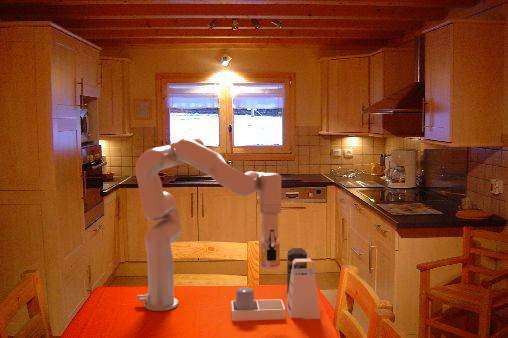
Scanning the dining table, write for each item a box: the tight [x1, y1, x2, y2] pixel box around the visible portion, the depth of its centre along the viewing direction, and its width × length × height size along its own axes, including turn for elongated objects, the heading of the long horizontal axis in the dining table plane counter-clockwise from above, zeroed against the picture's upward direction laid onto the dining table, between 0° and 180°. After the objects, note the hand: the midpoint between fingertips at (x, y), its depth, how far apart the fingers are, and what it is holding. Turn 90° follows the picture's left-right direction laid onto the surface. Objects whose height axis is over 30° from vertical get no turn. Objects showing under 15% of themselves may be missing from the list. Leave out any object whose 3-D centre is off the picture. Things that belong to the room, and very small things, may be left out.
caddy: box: [230, 298, 286, 322], centre depth 188 cm, size 19×10×4 cm, turn 95°
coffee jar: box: [286, 247, 308, 294], centre depth 208 cm, size 10×8×19 cm
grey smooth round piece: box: [235, 286, 255, 310], centre depth 187 cm, size 6×6×9 cm
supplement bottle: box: [260, 238, 281, 270], centre depth 186 cm, size 7×7×13 cm
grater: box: [285, 258, 321, 320], centre depth 190 cm, size 10×10×20 cm
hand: (270, 257), depth 186 cm, fingers closed on supplement bottle, 6 cm apart
